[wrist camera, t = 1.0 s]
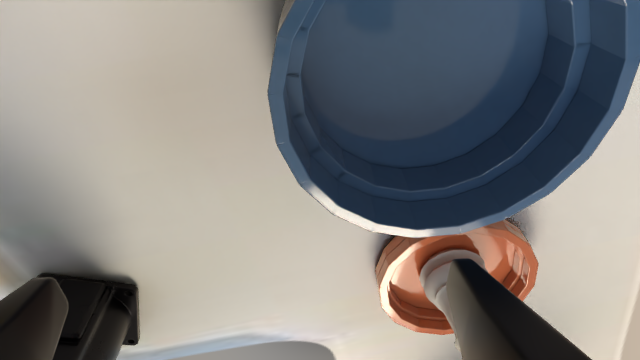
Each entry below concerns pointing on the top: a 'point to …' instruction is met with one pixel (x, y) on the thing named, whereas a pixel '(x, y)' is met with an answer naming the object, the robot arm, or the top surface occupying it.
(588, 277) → the top surface
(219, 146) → the top surface
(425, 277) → the rook chess piece
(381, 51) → the bowl
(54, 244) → the top surface
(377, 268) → the orange round lid
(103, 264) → the top surface
